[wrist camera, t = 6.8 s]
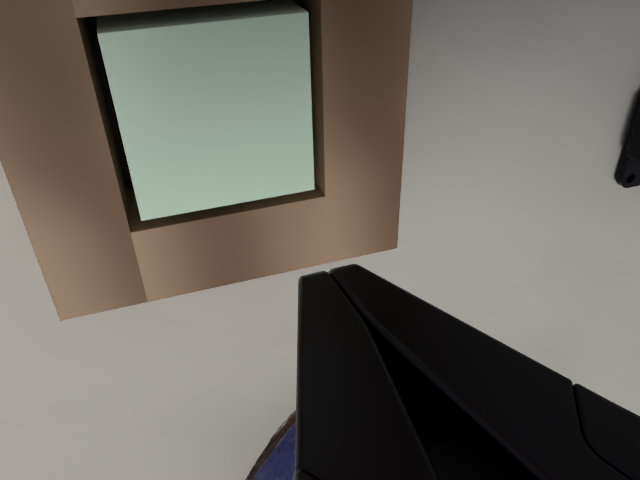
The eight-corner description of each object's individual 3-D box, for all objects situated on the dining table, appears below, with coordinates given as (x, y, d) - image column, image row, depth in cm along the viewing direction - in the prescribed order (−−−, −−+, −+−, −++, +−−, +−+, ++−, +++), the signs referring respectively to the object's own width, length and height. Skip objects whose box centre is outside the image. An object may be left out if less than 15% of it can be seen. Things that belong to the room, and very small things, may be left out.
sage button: (280, -8, 18) (308, 12, 16) (290, 152, 21) (314, 189, 19) (96, 8, 17) (96, 33, 14) (135, 177, 20) (141, 220, 18)
